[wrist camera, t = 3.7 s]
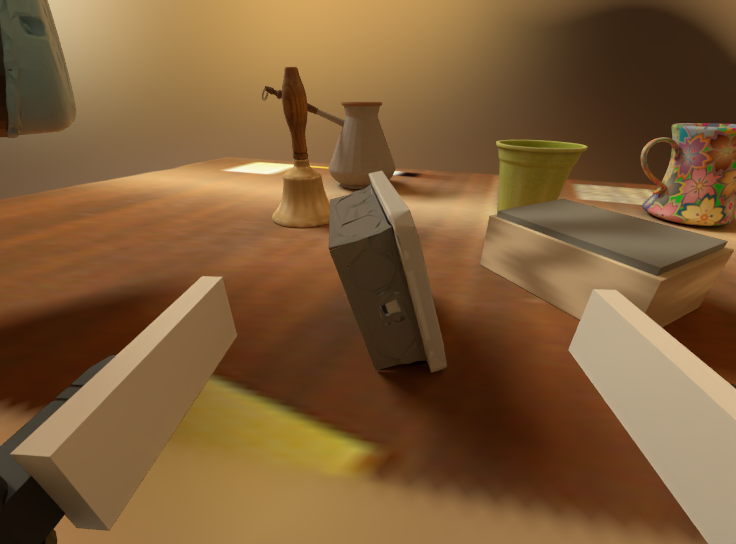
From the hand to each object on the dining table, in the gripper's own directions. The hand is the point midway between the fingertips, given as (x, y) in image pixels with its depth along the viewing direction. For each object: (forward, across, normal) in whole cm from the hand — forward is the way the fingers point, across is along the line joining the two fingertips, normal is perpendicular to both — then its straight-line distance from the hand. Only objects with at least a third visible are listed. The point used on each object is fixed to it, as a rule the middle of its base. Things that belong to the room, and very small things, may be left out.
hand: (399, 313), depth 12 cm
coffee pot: (+46, -10, -6) cm, 48 cm away
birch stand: (+13, +15, -6) cm, 21 cm away
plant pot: (+30, +17, -6) cm, 35 cm away
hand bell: (+28, -11, -6) cm, 31 cm away
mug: (+31, +35, -6) cm, 47 cm away
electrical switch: (+7, 0, -6) cm, 9 cm away
